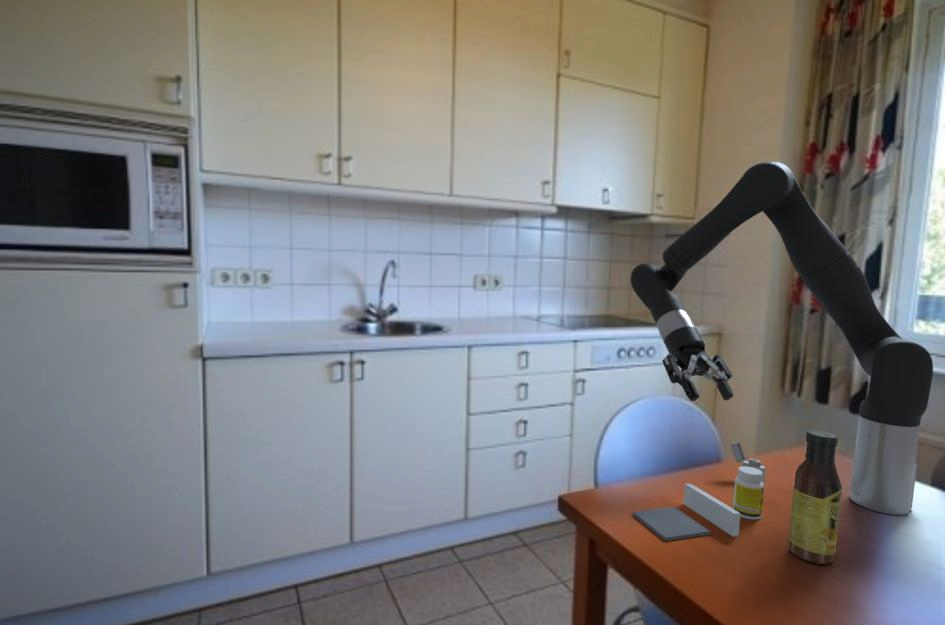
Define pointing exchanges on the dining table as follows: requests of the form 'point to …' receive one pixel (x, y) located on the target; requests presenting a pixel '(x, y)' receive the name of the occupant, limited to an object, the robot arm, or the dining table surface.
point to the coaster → (671, 523)
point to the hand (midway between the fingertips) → (712, 398)
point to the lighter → (741, 458)
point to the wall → (712, 509)
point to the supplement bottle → (748, 493)
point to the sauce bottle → (816, 501)
